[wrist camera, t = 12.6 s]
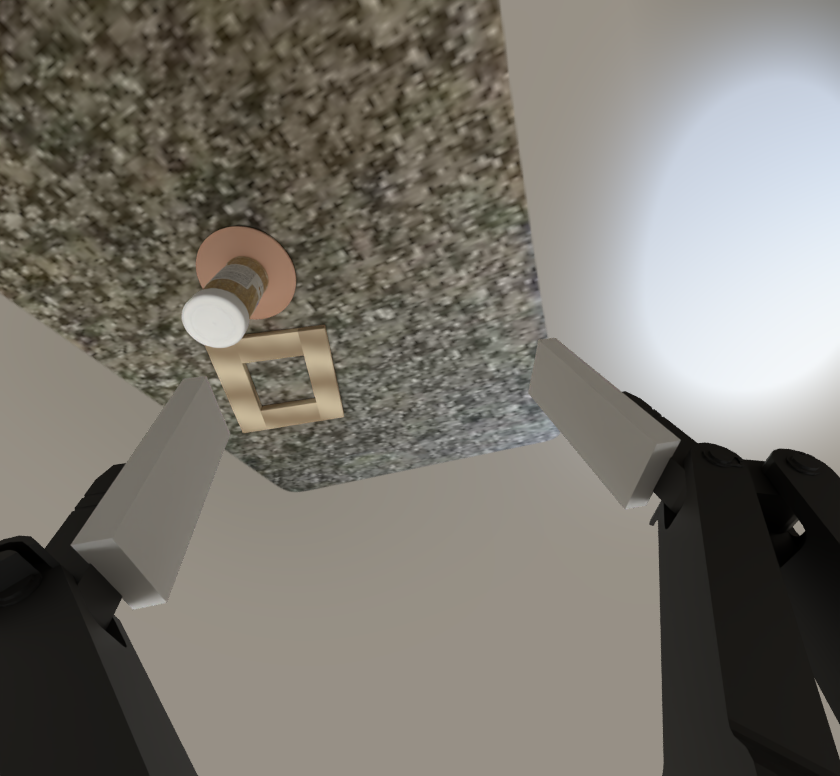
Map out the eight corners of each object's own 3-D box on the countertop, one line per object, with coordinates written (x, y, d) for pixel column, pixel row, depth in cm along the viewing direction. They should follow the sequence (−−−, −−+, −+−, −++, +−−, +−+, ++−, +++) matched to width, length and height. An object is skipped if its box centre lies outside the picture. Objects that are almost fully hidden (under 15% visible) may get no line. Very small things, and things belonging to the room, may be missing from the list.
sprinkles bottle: (262, 302, 40) (236, 357, 29) (219, 285, 38) (174, 337, 27) (275, 266, 38) (252, 310, 28) (230, 246, 37) (186, 285, 26)
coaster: (182, 230, 36) (179, 231, 35) (283, 221, 37) (282, 223, 36) (218, 321, 41) (216, 324, 41) (305, 311, 43) (304, 313, 42)
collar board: (206, 339, 42) (203, 343, 41) (325, 324, 44) (324, 328, 43) (244, 427, 50) (243, 433, 49) (343, 411, 52) (343, 416, 51)
